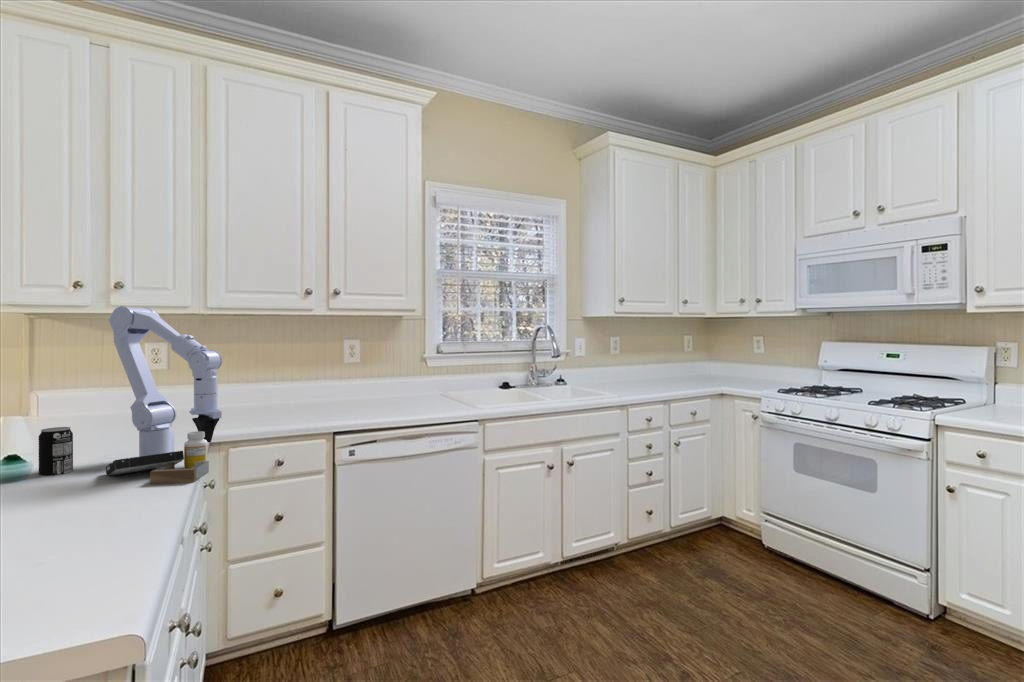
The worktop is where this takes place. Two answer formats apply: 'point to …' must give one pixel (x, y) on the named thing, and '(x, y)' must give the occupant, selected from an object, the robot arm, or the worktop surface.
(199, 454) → the supplement bottle
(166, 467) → the wood and metal frame
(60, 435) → the beverage can
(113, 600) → the worktop surface
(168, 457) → the disk drive
